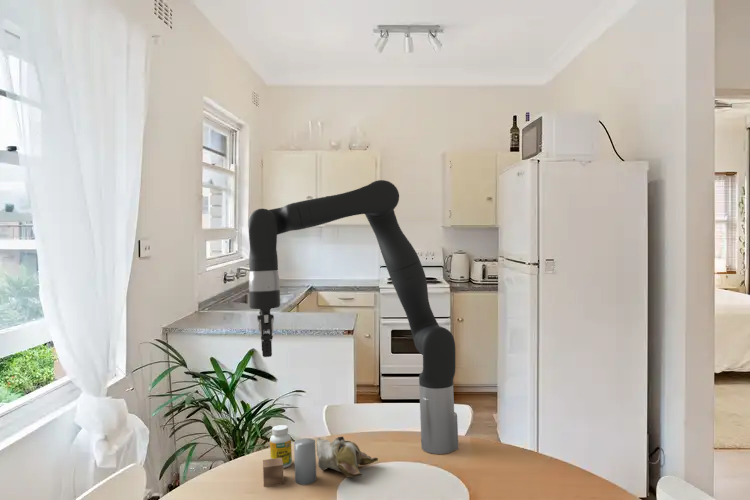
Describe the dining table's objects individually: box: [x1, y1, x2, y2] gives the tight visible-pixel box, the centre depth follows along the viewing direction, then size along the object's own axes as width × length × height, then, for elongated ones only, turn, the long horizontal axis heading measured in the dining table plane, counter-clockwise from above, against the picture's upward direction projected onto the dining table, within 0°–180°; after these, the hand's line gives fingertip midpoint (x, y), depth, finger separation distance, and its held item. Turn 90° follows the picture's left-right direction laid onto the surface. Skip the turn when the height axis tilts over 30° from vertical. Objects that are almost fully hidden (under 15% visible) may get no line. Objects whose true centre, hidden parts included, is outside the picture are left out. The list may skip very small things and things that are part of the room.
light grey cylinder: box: [293, 437, 317, 486], centre depth 118 cm, size 5×5×9 cm
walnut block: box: [262, 458, 284, 488], centre depth 118 cm, size 4×4×4 cm
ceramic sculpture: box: [316, 436, 379, 478], centre depth 123 cm, size 11×9×15 cm
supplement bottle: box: [269, 424, 293, 469], centre depth 128 cm, size 5×5×10 cm
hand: (266, 353), depth 124 cm, fingers open, 8 cm apart
